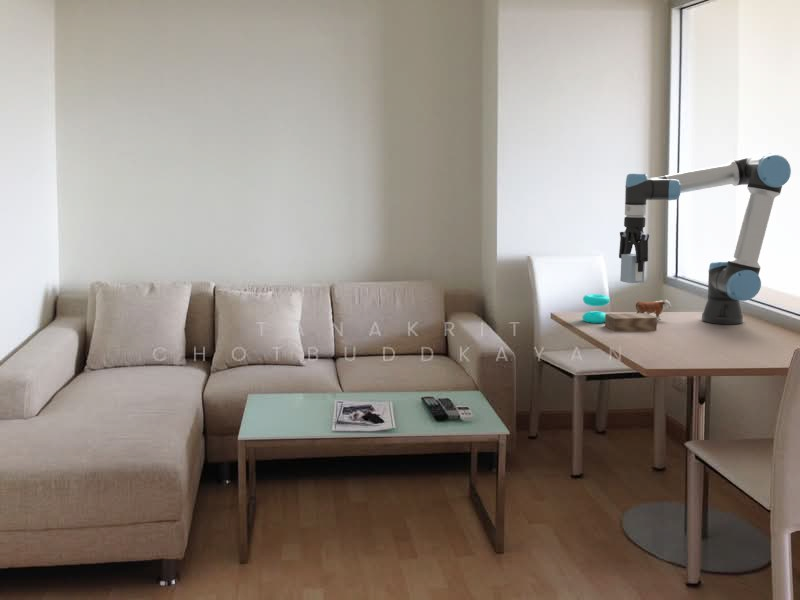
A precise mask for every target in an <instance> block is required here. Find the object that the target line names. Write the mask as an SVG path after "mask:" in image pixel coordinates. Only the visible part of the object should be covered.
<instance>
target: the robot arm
mask: <svg viewBox="0 0 800 600" xmlns="http://www.w3.org/2000/svg"><path fill="white" fill-rule="evenodd" d="M791 175H792V169H791V164H790V162H789V160H787V158H785V157H784V156H782V155H779V154H776V153H757V154H756V153H755V154H752V155H748V156H745V157H742V158H738V159H732V160H729V162H728V163H726V164H721V165H717V166H710V167H705V168H699V169H694V170H693V169H692V170H688V171H684V172H678V173H671V174H667V175H664V176H657V177H648V175H647V174H646V173H629V174H627V175H626V179H625V195H624V196H625V197H624V201H625V202H624V215H625V217H624V220H623V226H624V227H625V230H624V231H620V232H619V236H620V237H619V239H620V240H619V250H618V251H619V252H618V258H619V259H621V254H632V250H633V247H634V249H635V250H634V252H635V254H636V258H637V262H636V263H635V281H642V272H643V263H644V262H645V263H646V262H647V263H648V260H649V239H650V235H649V233H645V232H644V228H645V227H646V216H647V201H677V200H678V199H679V198H680V196H681V194H684V193H688V192H694V191H698V190H699V191H700V190H704V189H705V190H706V189H710V188H717V187H723V186H726V185H732V186H735V187H737V186H741V185H742V186H744V185H746V186H747V187H746V188H747V190H748V192H749V197H748V200H747V203H746V208H745V211H744V215H743V219H742V222H741V223H742V224H741V226H740V230H739V235H738V239H737V242H736V246H735V250H734V254H733V256H732V257H731V258H729V259H728V260H727V261H713V262H710V264H709V268H708V270H707V271H708V281H707V285H708V286H707V301H706V303H705V306H704V309H703V312H702V313H701V320H702V321H703V322H706V323H711V324H717V325H718V324H719V325H720V324H721V325H737V324H742V323H743V322H744V315H743V312H742V308H741V304H740V301H742V302H746V301H749V300H752V299H753V298H755V297H756V296H757V295H758V294H759V293H760V290H761V288H762V281H761V278H760V276H759V275H760V271H761V266H760V265H759V258H760V254H761V249H762V246H763V242H764V238H765V235H766V231H767V227H768V223H769V220H770V216H771V213H772V209H773V204H774V202H775V198H776V197H778V196H780V195H781V193H782V188H783V186H784V185H786V183H787V182H789V179H790V177H791ZM633 245H634V246H633Z"/></svg>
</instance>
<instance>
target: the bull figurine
mask: <svg viewBox="0 0 800 600" xmlns="http://www.w3.org/2000/svg"><path fill="white" fill-rule="evenodd" d="M671 308H672V304H671V302H670V301H668V300H667V299H665V300H656V301H637V302H636V304H635V309H636V311H637V312H636V313H647V314H649V315H651V314H655V317H656V318H657V322H658V321H661V320H662V319H661V317H660V315H661V314H663V313H664V312H665V311H666V310H668V309H671Z"/></svg>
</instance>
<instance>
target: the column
mask: <svg viewBox="0 0 800 600" xmlns="http://www.w3.org/2000/svg"><path fill="white" fill-rule="evenodd" d="M636 262H637V258H636V253H631V254H621V258H620V276H619V277H620V281H619V282H623V283H627V284H641V283H645V268H646V266H645V265H646V262H644V263H643V272H642V281H635V263H636Z"/></svg>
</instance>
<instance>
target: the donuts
mask: <svg viewBox="0 0 800 600" xmlns="http://www.w3.org/2000/svg"><path fill="white" fill-rule="evenodd" d="M582 300H583V303H584V304H586V305H588V306H590V307H591V306H592V307H604V306H607V305H608V304H609V303H610V300H611V299H610V297H609V296H607V295H604V294H593V293H591V294H587V295H586V294H585V295H584V296H583V298H582ZM605 314H607V313H605V312H604V311H599V310H598V311H595V310H593V311H591V310H590V311H587V312H586V311H585V312H584V314H582V316H581V317H582V321H584V322H586V323H589V322H591V324H605V323H604V322H605Z"/></svg>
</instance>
